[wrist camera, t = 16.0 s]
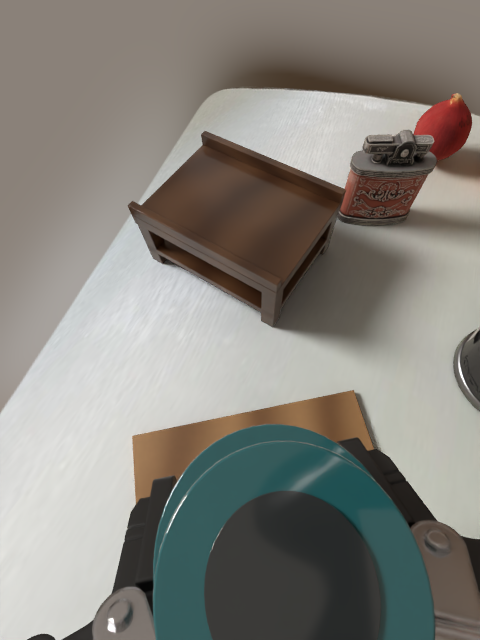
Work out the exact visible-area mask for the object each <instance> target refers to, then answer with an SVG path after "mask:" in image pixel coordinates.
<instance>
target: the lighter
mask: <svg viewBox="0 0 480 640" xmlns="http://www.w3.org/2000/svg"><path fill="white" fill-rule="evenodd" d="M433 143H434V138H433V137H432V136H431V135H413V134H412V131H410V130H403V131H401V132H400V133H399V134H397V135H396V136H392V135H369V136H367V137H366V138H365V141H364V144H363V150H362V151H358V152H356V153H354V154H353V156H352V159H351V163H350V167H351V169H350V172H349V176H348V179H347V183H346V186H345V190H346V193H345V196H344V199H343V202H342V206H341V209H340V210H339V212H338V215H337V218H338V219H339V220H340V221H342V222H345V223H351V224H358V225H387V224H394V223H400V222H403V221H404V220H406V218H407V216H408V214H409V212H410V207H411V205H412V203H413V202H414V200H415V198H416V196H417V194H418V192H419V190H420V189H421V187H422V185H423V183H424V181H425V179H426V178H427V176H428V174H429V173H431V172H432V171H433V169H434V167H435V165H436V163H437V159H436V157H435V155H434V154H433V153H431V152H430V149H431V147H432V145H433Z"/></svg>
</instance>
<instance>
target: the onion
mask: <svg viewBox="0 0 480 640" xmlns="http://www.w3.org/2000/svg"><path fill="white" fill-rule="evenodd" d="M471 126H472V117H471V113H470V111H469V109H468V107H467V106H466V104H465V103H464V101H463V99H462V96H461V95H460V94H452V96H451V99H450V100H446V101H442V102H440V103H437V104H435V105H434V106H432V107H431V108H430V109H429V110H428V111H426V112H425V113H424V114H423V115H422V116H421V118H420V119H419V121H418V122H417V125H416V128H415V131H414V134H413V135H431V136H432V137H433V138H434V143H433V145H432V147H431V149H430V152H431V153H433V154H434V155H435V157H436V159H437V160H442V159H445V158H448V157H449V156H451V155H452V154H454V153H455V152H457V151H458V150H460V149H461V148H462V146H463V145H464V144H465V143H466V140H467V138H468V136H469V133H470V131H471Z"/></svg>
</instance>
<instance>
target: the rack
mask: <svg viewBox="0 0 480 640" xmlns="http://www.w3.org/2000/svg"><path fill="white" fill-rule="evenodd" d="M201 137H202V143H203V145H202V146H201V147H200V148H199V149H198V150H197V151H196V152H195V153H194V154H193V155H192V156H191V157H190V158H189V159H188V160H187V161H186V162H185V163H184V164H183V165H182V166H181V167H180V168H179V169H178V170H177V171H176V172H175V173H174V174H173V175H172V176H171V177H170V178H169V179H168V180H167V181H166V182H165V183H164V184H163V185H162V186H161V187H160V188H159V189H158V190H157V191H156V192H155V193H154V194H153V195H151V196H150V197H149V198H148V199H147V200H146V201H145V202H144V203H143V204H142V205H139V204H137V203H135V202H133V201H132V202H131V203H130V204H129V205H128V207H129V210H130V212H131V214H132V216H133V218H134V221H135V223H136V224H138V226H139V228H140V230H141V233H142V235H143V237H144V239H145V241H146V244H147V246H148V248H149V250H150V253H151V255H152V257H153V259H155V260H157V261H159V262H160V263H163V262H164V261H165V260H166V259H168V260H170V261H172V262H173V263H175V264H177V265H179V266H180V267H182V268H184V269H186V270H187V271H189V272H191V273H193V274H194V275H196V276H198V277H200V278H202V279H203V280H205V281H207V282H209V283H210V284H212V285H214V286H216V287H217V288H219V289H221V290H223V291H224V292H226V293H228V294H230V295H231V296H233V297H235V298H237V299H239V300H240V301H242V302H244V303H246V304H247V305H249V306H251V307H253V308H254V309H256V310H258V311H260V312H261V321H263V322H264V323H266V324H268V325H270V326H271V327H273V326H274V325H275V323H276V322H277V320H278V319H279V318H280V311H281V308H282V306H283V305H284V304H285V302H286V301H287V299H288V298H289V296H290V295H291V293H292V292H293V291H294V289H295V288H296V286H297V285H298V283H299V282H300V281H301V279H302V278H303V276H304V275H305V273H306V272H307V270H308V269H309V268H310V266H311V265H312V263H313V262H314V260H315V259H316V258H317V256H318V255H319V254H321V255H323V254H324V252H325V251H326V249H327V248H328V245H329V242H330V239H331V235H332V232H333V228H334V225H335V222H336V218H337V215H338V212H339V210H340V209H341V206H342V202H343V199H344V196H345V193H346V190H345V189H343V188H341V187H338V186H336V185H333V184H331V183H329V182H326V181H324V180H321V179H319V178H317V177H314V176H312V175H309V174H307V173H305V172H302V171H300V170H298V169H295V168H293V167H290V166H288V165H286V164H283V163H281V162H278V161H276V160H274V159H271V158H269V157H266V156H264V155H262V154H259V153H257V152H254V151H252V150H250V149H247V148H245V147H242V146H240V145H238V144H235V143H233V142H231V141H228V140H226V139H223V138H221V137H219V136H216V135H214V134H211V133H209V132H207V131H204V132H203V133H202V134H201Z"/></svg>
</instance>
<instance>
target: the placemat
mask: <svg viewBox="0 0 480 640" xmlns="http://www.w3.org/2000/svg"><path fill="white" fill-rule="evenodd" d="M264 424H284V425H292V426H297V427H301V428H305V429H308V430H311V431H314V432H316V433H319V434H321V435H323V436H325V437H327V438H329V439H331V440H332V441H334V442H336V443H337V441H341V440H346V439H350V438H355V437H358V438H359V439H360V440H361V442H362V443H363V445H364V446H365V448H366V449H367V451H369V450H373V449H374V447H373V445H372V442H371V439H370V436H369V433H368V430H367V427H366V424H365V421H364V419H363V416H362V413H361V410H360V407H359V404H358V401H357V398H356V395H355V393H354V390H352V391H347V392H342V393H337V394H333V395H328V396H323V397H318V398H313V399H308V400H304V401H299V402H294V403H289V404H284V405H279V406H275V407H270V408H265V409H260V410H255V411H251V412H246V413H241V414H236V415H231V416H226V417H222V418H217V419H212V420H207V421H202V422H197V423H193V424H188V425H183V426H178V427H173V428H169V429H164V430H159V431H154V432H149V433H144V434H140V435H135V436H132V439H133V458H134V476H135V495H136V504H137V502H138V501H139V499H141V498H145V497H150V493H151V488H152V483H153V480H154V479H158V478H163V477H168V476H173V475H175V476H176V479H177V481H178V479H179V478H180V476H181V475H182V473H183V472H184V471H185V470H186V468H187V467H188V466H189V464H190V463H191V462H192V461H193V460H194V459H195V458H196V457H197V456H198V455H199V454H200V453H201V452H202V451H204V450H205V449H206V448H207V447H209V446H210V445H211V444H213V443H214V442H216V441H217V440H219V439H221V438H222V437H224V436H226V435H228V434H231V433H233V432H235V431H238V430H240V429H244V428H247V427H251V426H257V425H264Z"/></svg>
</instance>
